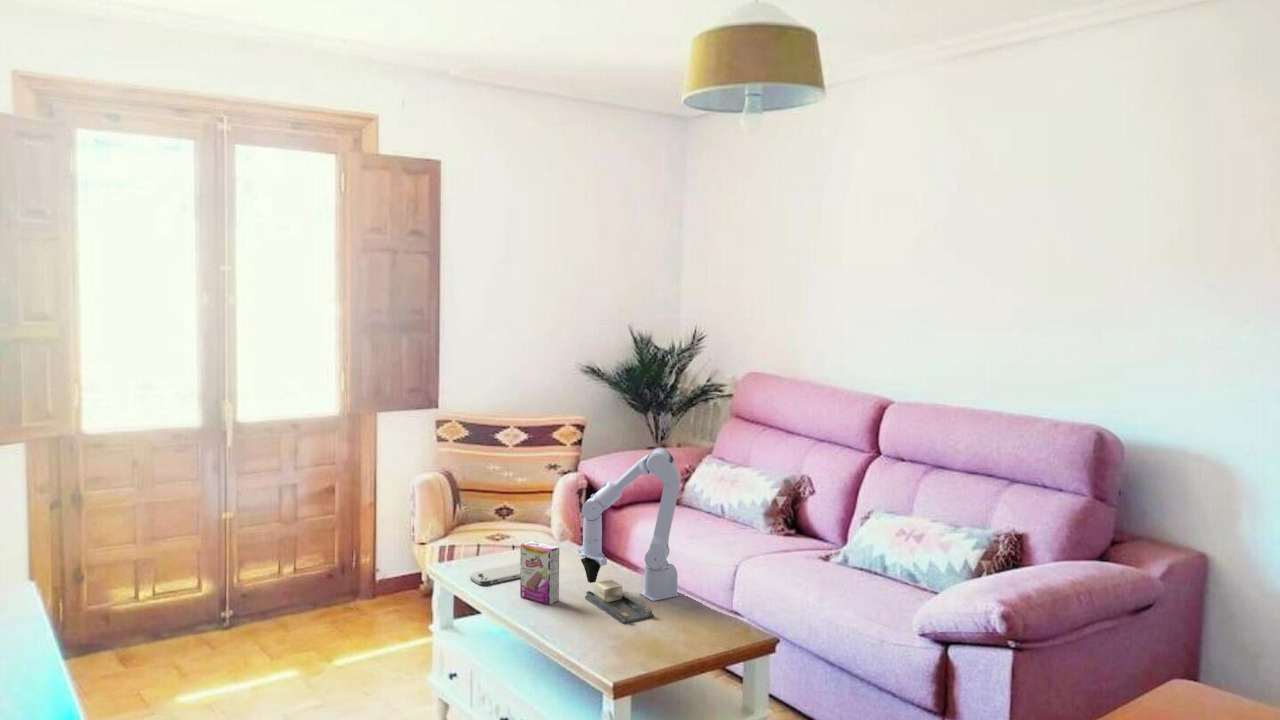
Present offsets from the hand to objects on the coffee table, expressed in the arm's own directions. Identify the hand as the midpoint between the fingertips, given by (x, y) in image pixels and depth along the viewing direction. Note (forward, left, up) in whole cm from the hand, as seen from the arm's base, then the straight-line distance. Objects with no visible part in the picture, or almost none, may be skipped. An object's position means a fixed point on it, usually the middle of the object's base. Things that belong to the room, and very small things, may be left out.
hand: (591, 581), depth 273 cm
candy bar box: (+17, -1, -3) cm, 17 cm away
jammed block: (0, +10, -2) cm, 10 cm away
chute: (0, +16, -3) cm, 16 cm away
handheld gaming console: (+17, -25, -3) cm, 30 cm away
